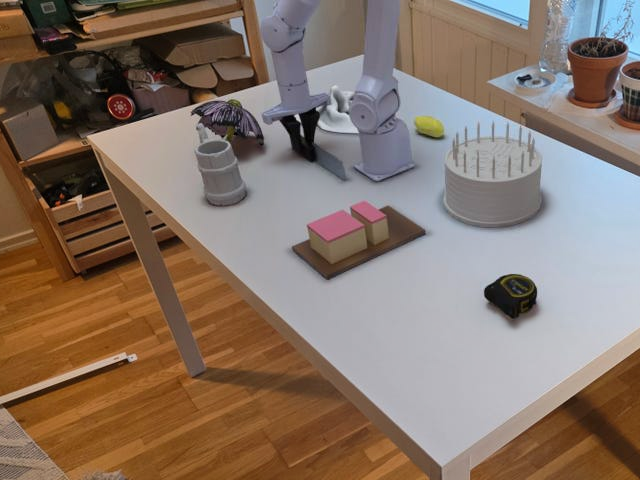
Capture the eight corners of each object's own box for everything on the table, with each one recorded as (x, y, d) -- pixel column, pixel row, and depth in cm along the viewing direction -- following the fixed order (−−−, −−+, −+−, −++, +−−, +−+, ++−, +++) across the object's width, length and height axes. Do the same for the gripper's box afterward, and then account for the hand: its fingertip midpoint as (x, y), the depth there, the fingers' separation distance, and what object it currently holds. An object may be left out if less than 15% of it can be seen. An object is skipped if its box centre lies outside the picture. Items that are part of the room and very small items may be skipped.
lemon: (435, 142, 137) (434, 125, 135) (409, 132, 142) (408, 114, 139) (449, 136, 140) (448, 118, 137) (423, 125, 144) (422, 108, 141)
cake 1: (346, 232, 112) (342, 209, 108) (367, 248, 108) (364, 224, 105) (311, 247, 108) (306, 224, 105) (331, 264, 105) (327, 240, 102)
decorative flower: (277, 101, 131) (202, 96, 122) (280, 161, 135) (207, 161, 126) (251, 100, 142) (180, 96, 133) (254, 156, 146) (185, 155, 137)
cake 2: (553, 187, 122) (560, 119, 113) (520, 236, 111) (525, 163, 102) (467, 170, 128) (466, 103, 119) (426, 214, 117) (423, 144, 107)
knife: (300, 146, 138) (296, 128, 135) (349, 178, 127) (346, 159, 124) (292, 149, 137) (288, 131, 134) (340, 182, 126) (337, 162, 123)
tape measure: (481, 302, 98) (481, 282, 95) (516, 286, 101) (518, 266, 98) (509, 326, 94) (510, 306, 91) (545, 308, 97) (547, 288, 94)
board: (388, 209, 118) (388, 205, 118) (425, 233, 112) (425, 229, 112) (292, 250, 109) (291, 246, 109) (327, 279, 103) (326, 275, 103)
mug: (213, 211, 119) (194, 149, 111) (194, 185, 127) (175, 125, 118) (253, 198, 122) (237, 137, 114) (232, 174, 130) (216, 115, 121)
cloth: (278, 113, 150) (272, 87, 146) (341, 90, 160) (338, 64, 155) (337, 142, 139) (332, 114, 134) (401, 115, 148) (399, 88, 144)
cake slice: (367, 223, 114) (364, 200, 110) (389, 238, 110) (386, 215, 107) (353, 229, 112) (349, 206, 109) (374, 245, 108) (371, 221, 105)
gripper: (314, 66, 130) (324, 131, 140) (248, 85, 124) (264, 152, 133) (332, 75, 126) (342, 142, 136) (266, 95, 120) (281, 164, 129)
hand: (304, 147), depth 134 cm, fingers closed on knife, 2 cm apart
